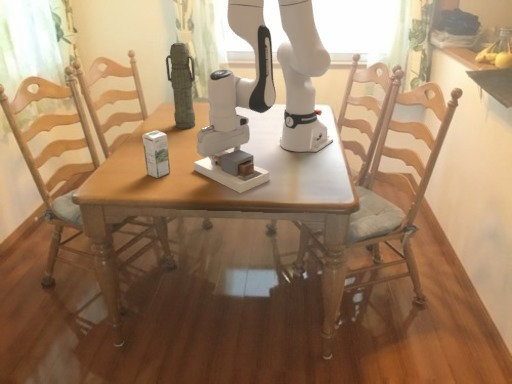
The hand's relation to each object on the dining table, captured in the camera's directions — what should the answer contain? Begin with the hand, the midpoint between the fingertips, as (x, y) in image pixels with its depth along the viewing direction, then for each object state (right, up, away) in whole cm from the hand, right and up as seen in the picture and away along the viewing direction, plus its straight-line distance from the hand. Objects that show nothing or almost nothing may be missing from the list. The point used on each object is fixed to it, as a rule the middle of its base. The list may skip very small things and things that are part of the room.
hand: (224, 161), depth 144 cm
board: (+2, -5, 0) cm, 5 cm away
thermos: (-21, +19, +46) cm, 54 cm away
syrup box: (-23, -4, +1) cm, 23 cm away
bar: (+3, -3, -2) cm, 5 cm away
